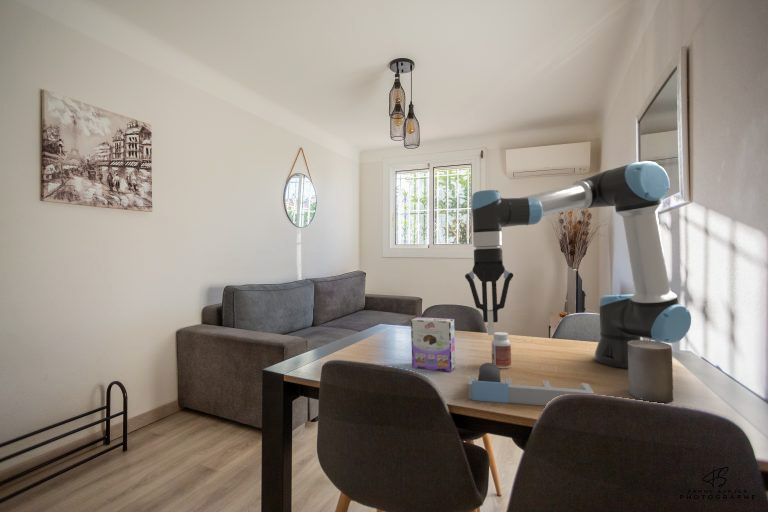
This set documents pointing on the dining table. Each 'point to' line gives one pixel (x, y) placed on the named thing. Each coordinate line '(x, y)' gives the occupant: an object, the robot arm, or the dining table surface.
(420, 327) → the candy box
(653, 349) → the pillar candle
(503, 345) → the pill bottle
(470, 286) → the robot arm
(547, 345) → the dining table surface
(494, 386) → the duct comb
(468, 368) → the dining table surface
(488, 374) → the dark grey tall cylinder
